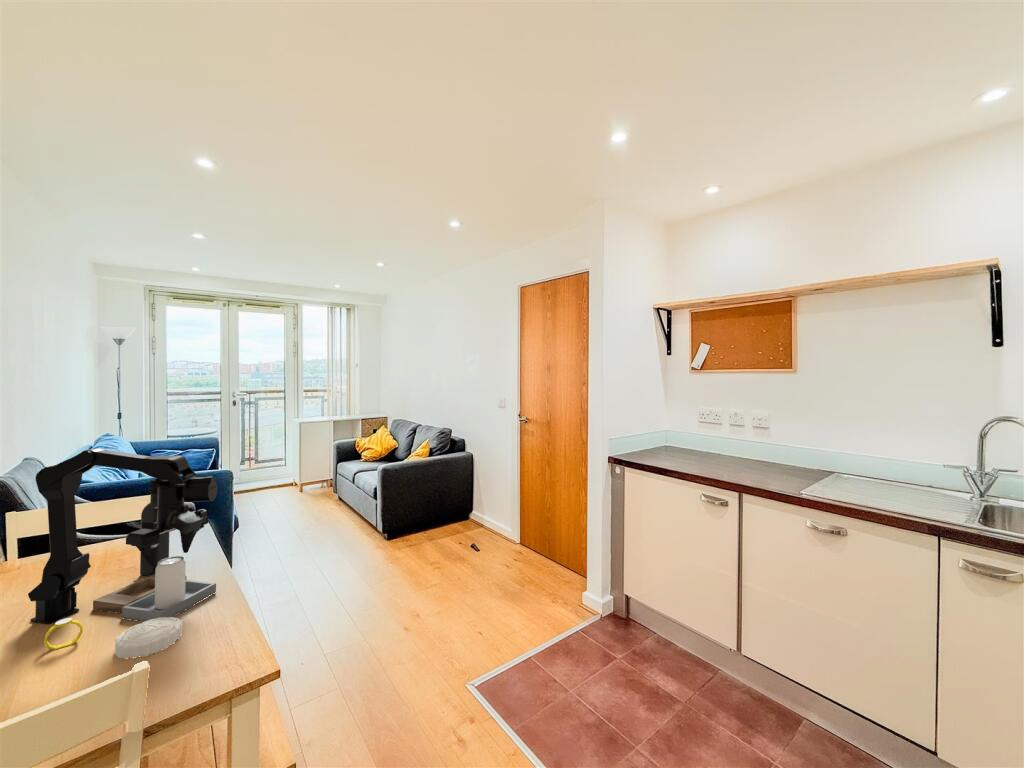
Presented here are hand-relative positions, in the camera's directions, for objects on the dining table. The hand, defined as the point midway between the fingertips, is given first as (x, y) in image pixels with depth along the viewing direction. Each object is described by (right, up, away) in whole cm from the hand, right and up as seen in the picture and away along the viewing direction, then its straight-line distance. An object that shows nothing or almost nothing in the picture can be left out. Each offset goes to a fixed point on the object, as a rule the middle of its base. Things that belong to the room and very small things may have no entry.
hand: (169, 559), depth 114 cm
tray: (+1, -13, 0) cm, 13 cm away
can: (0, -12, 0) cm, 12 cm away
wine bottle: (-21, -13, +20) cm, 32 cm away
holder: (-12, -13, +5) cm, 18 cm away
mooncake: (+9, -13, -16) cm, 23 cm away
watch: (-10, -13, -18) cm, 24 cm away
